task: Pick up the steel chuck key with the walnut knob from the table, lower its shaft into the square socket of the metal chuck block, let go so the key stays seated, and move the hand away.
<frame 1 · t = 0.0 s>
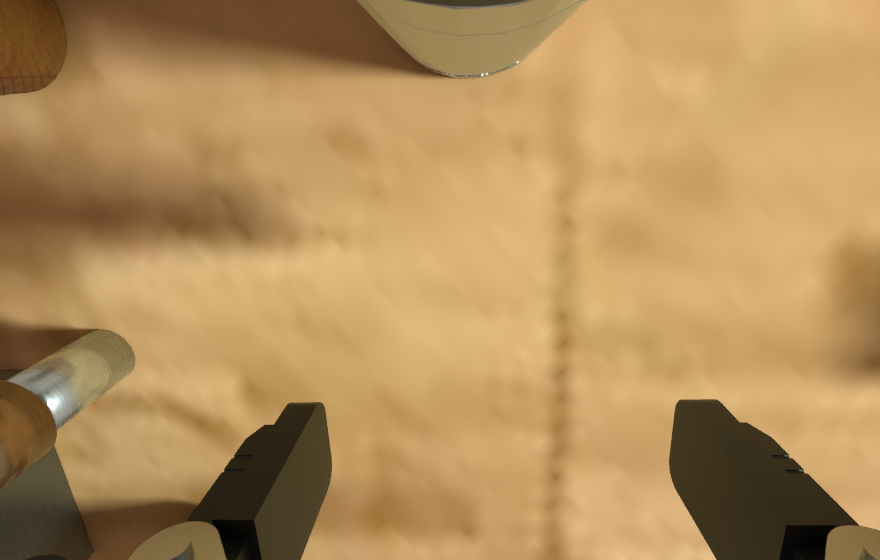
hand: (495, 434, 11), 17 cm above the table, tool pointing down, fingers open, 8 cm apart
disposable coffee cup: (10, 28, 25), on the table
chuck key: (107, 354, 31), on the table
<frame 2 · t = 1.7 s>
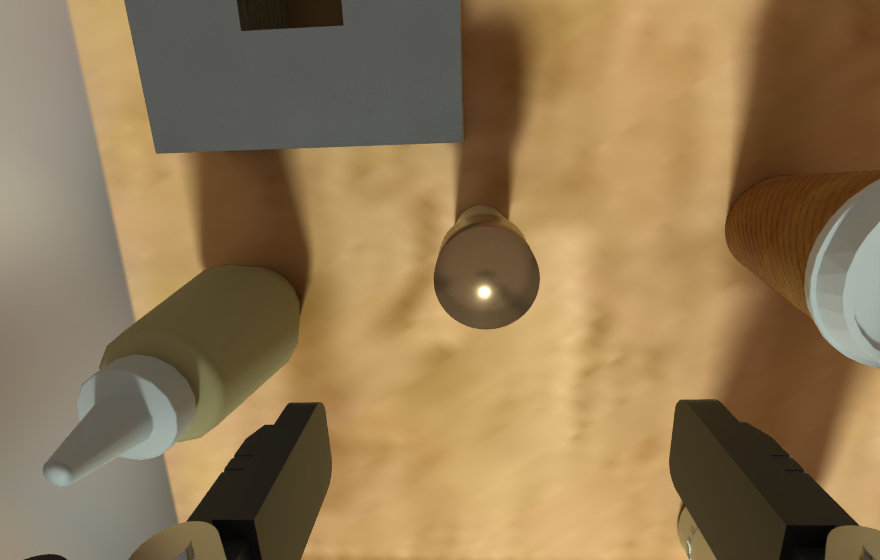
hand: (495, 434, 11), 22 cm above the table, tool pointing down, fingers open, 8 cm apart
chuck block: (328, 6, 29), on the table
squeeze bottle: (263, 303, 35), on the table
disposable coffee cup: (773, 224, 31), on the table
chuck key: (481, 231, 32), on the table
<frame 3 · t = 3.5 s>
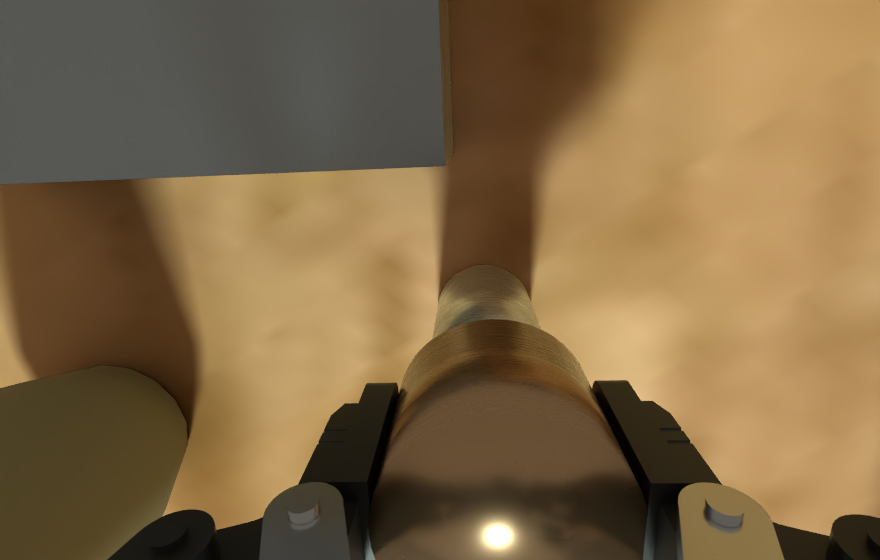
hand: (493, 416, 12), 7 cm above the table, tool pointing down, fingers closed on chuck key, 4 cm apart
squeeze bottle: (129, 419, 21), on the table
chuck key: (483, 308, 19), on the table, touching gripper
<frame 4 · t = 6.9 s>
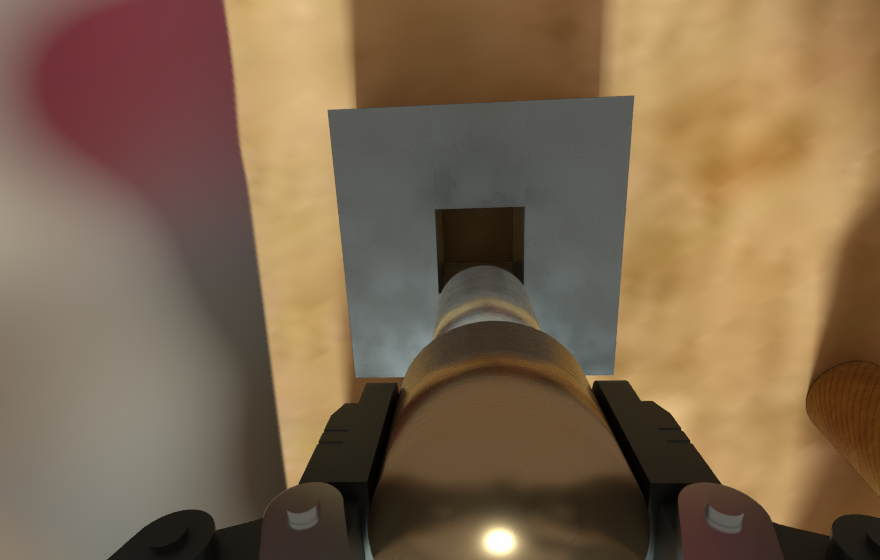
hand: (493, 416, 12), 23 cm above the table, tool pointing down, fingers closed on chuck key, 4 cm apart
chuck block: (477, 228, 34), on the table
disposable coffee cup: (847, 396, 36), on the table
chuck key: (483, 309, 19), point 16 cm above the table, touching gripper
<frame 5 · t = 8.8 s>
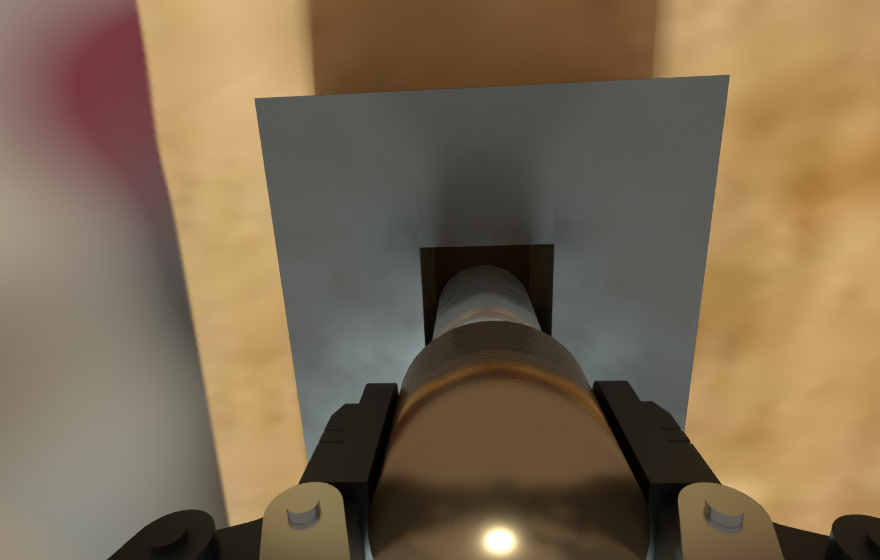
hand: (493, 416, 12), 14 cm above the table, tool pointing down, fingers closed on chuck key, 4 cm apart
chuck block: (482, 261, 25), on the table
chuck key: (483, 309, 19), point 7 cm above the table, touching gripper
when the fingers open (8 cm above the table, at t = 10.4 s): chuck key stays where it is, resting on chuck block.
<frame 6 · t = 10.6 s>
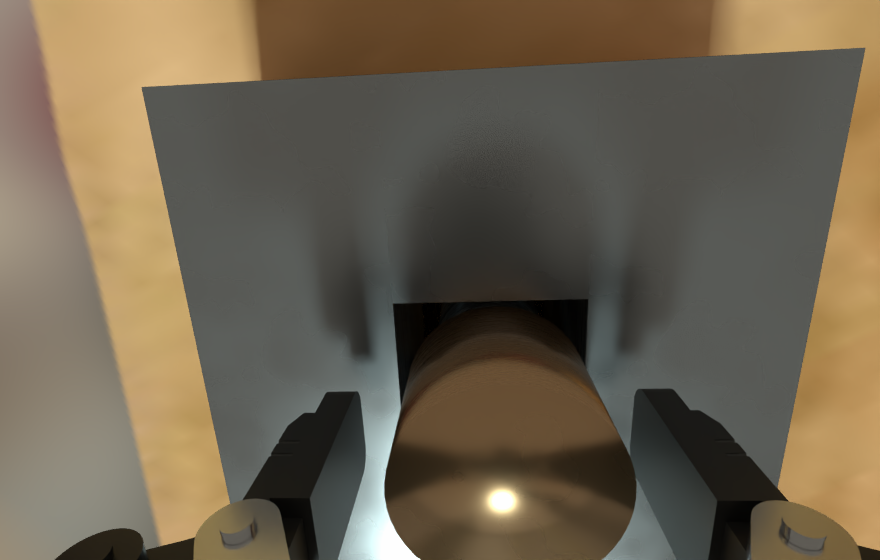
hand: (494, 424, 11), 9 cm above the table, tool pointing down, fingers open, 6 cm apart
chuck block: (482, 300, 20), on the table
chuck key: (486, 301, 20), resting on chuck block
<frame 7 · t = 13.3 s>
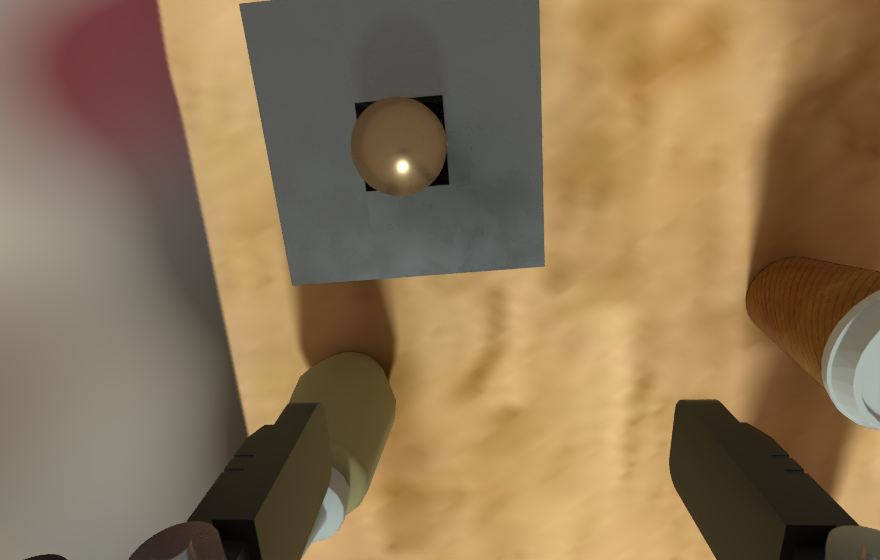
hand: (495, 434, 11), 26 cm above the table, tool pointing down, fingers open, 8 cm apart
chuck block: (412, 141, 34), on the table
squeeze bottle: (353, 380, 40), on the table
disposable coffee cup: (784, 294, 37), on the table
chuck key: (414, 142, 34), resting on chuck block
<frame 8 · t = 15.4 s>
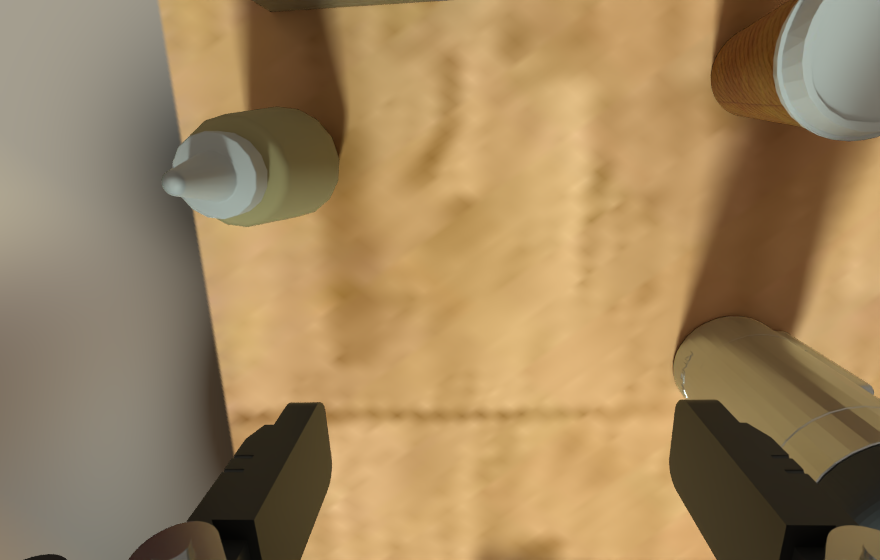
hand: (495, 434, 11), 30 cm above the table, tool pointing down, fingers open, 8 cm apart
squeeze bottle: (303, 160, 39), on the table
disposable coffee cup: (752, 72, 36), on the table
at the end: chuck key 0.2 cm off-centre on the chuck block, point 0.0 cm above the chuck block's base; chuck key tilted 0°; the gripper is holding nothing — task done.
